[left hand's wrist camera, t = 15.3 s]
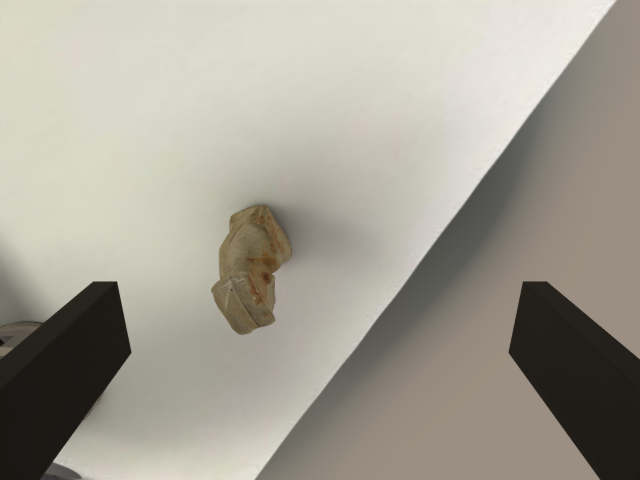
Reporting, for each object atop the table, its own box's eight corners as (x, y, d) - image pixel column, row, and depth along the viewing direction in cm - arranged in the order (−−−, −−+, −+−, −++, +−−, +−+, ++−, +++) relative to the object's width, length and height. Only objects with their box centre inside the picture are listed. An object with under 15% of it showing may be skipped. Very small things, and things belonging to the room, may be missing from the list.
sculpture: (252, 268, 44) (221, 349, 30) (225, 210, 42) (178, 269, 28) (300, 251, 44) (291, 328, 30) (276, 192, 41) (253, 244, 27)
